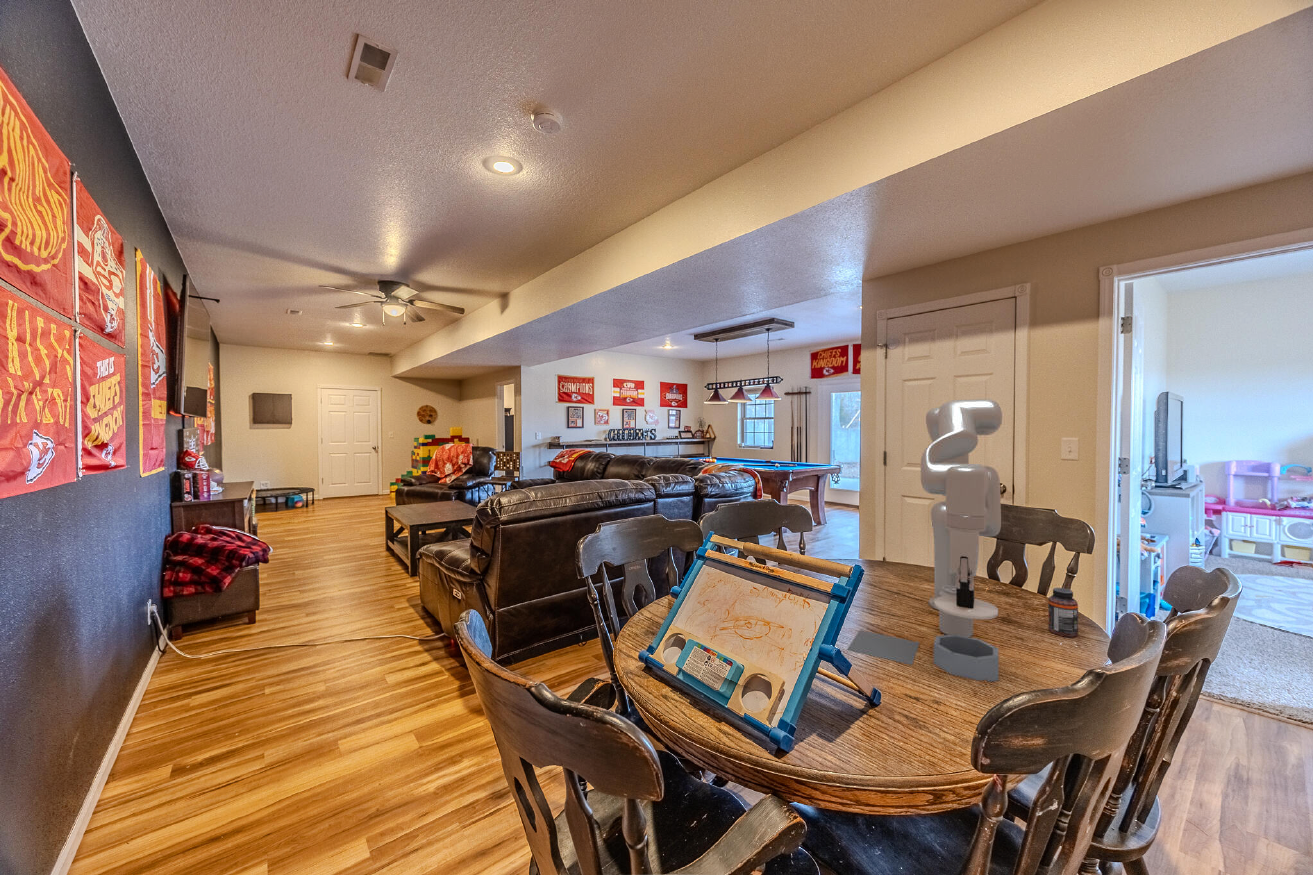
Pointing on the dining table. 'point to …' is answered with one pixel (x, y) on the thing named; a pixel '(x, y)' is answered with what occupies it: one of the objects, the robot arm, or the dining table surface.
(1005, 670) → the dining table surface
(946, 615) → the can
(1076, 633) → the supplement bottle
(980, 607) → the lid
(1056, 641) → the dining table surface
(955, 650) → the bowl
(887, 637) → the plate
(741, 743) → the dining table surface
